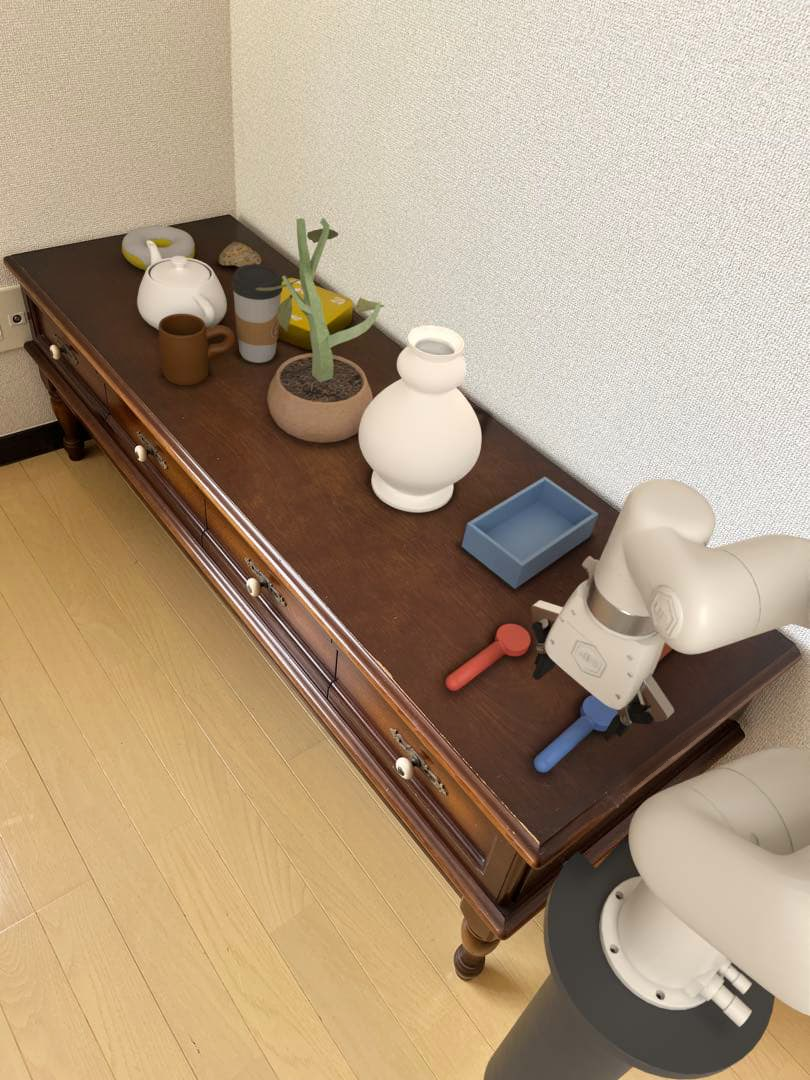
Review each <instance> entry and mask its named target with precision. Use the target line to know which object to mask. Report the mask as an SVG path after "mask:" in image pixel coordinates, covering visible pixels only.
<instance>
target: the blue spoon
mask: <svg viewBox="0 0 810 1080" xmlns="http://www.w3.org/2000/svg"><path fill="white" fill-rule="evenodd" d="M579 712H580V717H579V718H578V719H577V720H575V721H574V722H573V723H572V724H571V725H570V726H569V727H567V728H566V729H565V730H564V731H563V732H561V734H560V735H558V736H557V737H556V738H555V739H554V740H553V741H552V742H551V743H549V745H547V746H546V747H545V748H544V749H543V750H542V751H541V752H539V754H538V755H536V756H535V758H534V759H533V766H534V768H535V770H536V771H537V772H539V773H542V774H543V773H548V772H549V771H550V770H551V769H552V768H553V767H555V766H556V765H557V764H558V763H559V762H560V761H561V760H562V759H563V758H564V757H565V756H567V754H569V752H571V751H572V750H573V749H574V748H575V747H576V746H577V745H578V744H579V743H581V742H582V740H584V739H585V738H586V737H587V736H588V735H589V734H591V733H592V732H593V730H595V731H597V732H605V731H606V730H607V728H608V726H609V724H610V723H611V721H612V719H613V718H614V717H615V716H616V715H617V714H618V712H617V710H616V709H613V708H610V707H608V706H607V705H605V704H604V703H602V702H601V701H600V700H598V699H597V698H596V697H595V696H593V695H592V694H591V695H589V696H587V697H586V698H585V699H584V700H583V702H582V704H581V707H580V711H579Z"/></svg>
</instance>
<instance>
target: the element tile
mask: <svg viewBox="0 0 810 1080" xmlns="http://www.w3.org/2000/svg"><path fill="white" fill-rule="evenodd" d="M287 279H288V280H289V282H293V281H297V280H299V281H297V282H295V283H293V284H292V286H293V288H294V289H295V291H296V292H297V293H298V294H299V295H300V296H301V297H302V299H303V300H304V295H303V290H302V285H301V282H300V278H299V279H298V278H295V277H288V278H287ZM281 281H282V285H284V284H285V282H284V280H281ZM315 288H316V291H317V294H318V296H319V298H320V301H321V303H322V312H323V315H324V318H325V322H326V325H327V328H328V331H329V335H333V334H335V333H337V332H340V331H343V330H345V329H346V328H347V327H348V326H350V325H351V323H352V321H353V312H354V311H353V310H354V301H353V300H352V299H351V298H349V297H347V296H345V295H342V294H339V293H337V292H334V291H331V290H329V289H326V288H324V287H321V286H317V285H315ZM290 295H291V293H290V292H289V290H288V288H287V286H285V287H282V292H281V299H280V304H281V303H282V302H283V301H284V300H285V299H287V298H288V297H289V296H290ZM291 301H292V316H291V319H290V323H289V326H288V334H287V332H286V331H285V330H284V329H283V328H282V327H281V325H280V324H279V327H278V339H277V340H280V341H282V342H285V343H288V344H290V345H293V346H296V347H298V348H300V349H303V350H306V351H312V345H311V339H310V326H309V321H308V319H307V317H306V315H305V314H304V313H303V312H302V311H301V309H300V308H299V306H298V305H297V303H296V302H295V300H294V298H293V297H292V299H291Z"/></svg>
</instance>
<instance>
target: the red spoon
mask: <svg viewBox="0 0 810 1080" xmlns="http://www.w3.org/2000/svg"><path fill="white" fill-rule="evenodd" d="M531 642H532V640H531V634H530V633H529V632H528V630H526V629H525V628H524V627H523V626H521V625H519V624H517V623H506V624H502V625H501V626H500V627H498V629H497V631H496V633H495V636H494V642H492V643H491V644H489V645H488V646H487V647H486V648H484V649H483V650H481V651H480V652H478V653H477V654H476V655H474V656H472V658H470V659H469V660H468V661H466V662H465V663H464V664H463V665H461V666H460V667H458V668H457V669H455V670H454V671H453V672H451V673H450V674H448V675H447V677H446V679H445V686H446V688H447V689H448V690H449V691H452V692H457V691H459V690H460V689H461V688H463V687H464V686H466V684H468V683H469V682H470V681H472V680H473V679H475V678H476V677H477V676H478V675H480V674H481V673H482V672H484V671H485V670H486V669H488V668H489V667H490V666H492V665H493V664H494V663H496V662H497V661H498V660H500V659H501V658H502V657H503V656H505V655H507V656H508V657H509V656H510V657H519V656H523V655H524V654H526V653H527V652H528V650H529V648H530V645H531Z"/></svg>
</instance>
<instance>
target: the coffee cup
mask: <svg viewBox="0 0 810 1080" xmlns="http://www.w3.org/2000/svg"><path fill="white" fill-rule="evenodd" d="M282 281H283V280H282V278H281V277H280V273H279V272H278V270H276V268H273V267H271V266H269V265H265V264H261V263H260V264H250V265H244V266H241V267H237V269H235V271H234V275H233V277H232V279H231V290H232V291H233V300H234V316H235V326H236V336H237V341H238V350H239V351H238V352H239V354H240V355H241V357H242V358H243V359H244V360H246V361H247V362H251V363H256V364H257V363H258V364H259V363H260V364H261V363H266V362H269V361H271V360H272V359H273V358H274V357H275V355H276V353H277V342H278V340H279V339H278V327H279V322H278V318H277V310H278V308H279V306H280V299H281V292H282V288H279V289H275V290H272V291H259V290H256V288H257V287H260V288H269V287H277V286H280V285H282Z"/></svg>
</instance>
